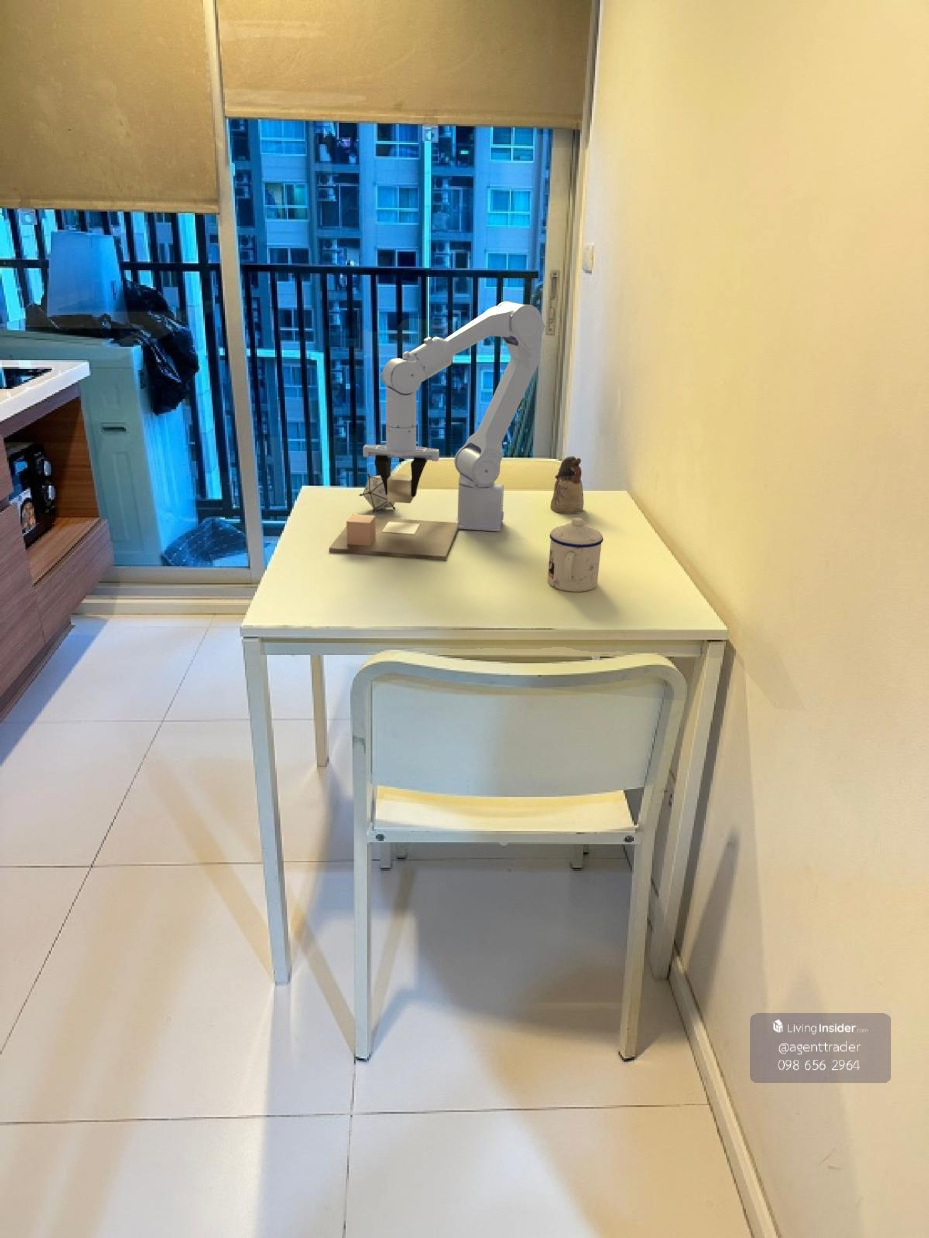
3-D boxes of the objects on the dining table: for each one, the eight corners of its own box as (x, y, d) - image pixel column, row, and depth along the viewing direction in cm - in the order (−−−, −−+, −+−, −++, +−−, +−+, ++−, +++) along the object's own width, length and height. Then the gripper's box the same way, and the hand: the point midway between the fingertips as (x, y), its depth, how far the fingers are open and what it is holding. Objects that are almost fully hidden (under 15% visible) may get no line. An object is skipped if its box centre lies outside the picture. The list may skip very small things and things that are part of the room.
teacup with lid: (551, 570, 150) (556, 508, 145) (601, 577, 148) (608, 514, 143) (538, 595, 139) (542, 529, 134) (591, 602, 137) (598, 536, 132)
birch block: (414, 496, 165) (414, 474, 164) (410, 503, 161) (410, 480, 160) (392, 495, 166) (391, 473, 164) (387, 501, 162) (387, 479, 160)
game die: (388, 528, 180) (400, 500, 172) (351, 513, 179) (361, 484, 171) (399, 498, 185) (411, 470, 177) (363, 484, 184) (374, 454, 176)
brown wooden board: (459, 526, 171) (459, 522, 171) (445, 560, 153) (445, 555, 153) (354, 519, 173) (354, 515, 173) (329, 552, 155) (328, 547, 155)
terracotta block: (375, 538, 161) (375, 515, 159) (370, 545, 156) (370, 523, 155) (352, 536, 161) (352, 514, 159) (347, 544, 157) (346, 521, 155)
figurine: (569, 503, 189) (574, 451, 184) (589, 511, 183) (594, 458, 178) (544, 507, 185) (548, 454, 180) (563, 516, 180) (568, 461, 175)
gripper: (358, 427, 155) (360, 497, 160) (435, 431, 153) (434, 502, 159) (367, 419, 161) (368, 488, 167) (441, 424, 160) (439, 492, 165)
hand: (401, 494), depth 163 cm, fingers closed on birch block, 4 cm apart
